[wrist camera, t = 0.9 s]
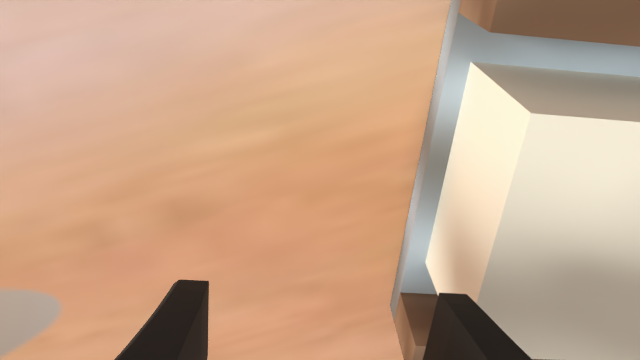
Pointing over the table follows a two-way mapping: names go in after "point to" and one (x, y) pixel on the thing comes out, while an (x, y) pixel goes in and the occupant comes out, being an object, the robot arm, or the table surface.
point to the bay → (456, 54)
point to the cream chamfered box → (545, 209)
